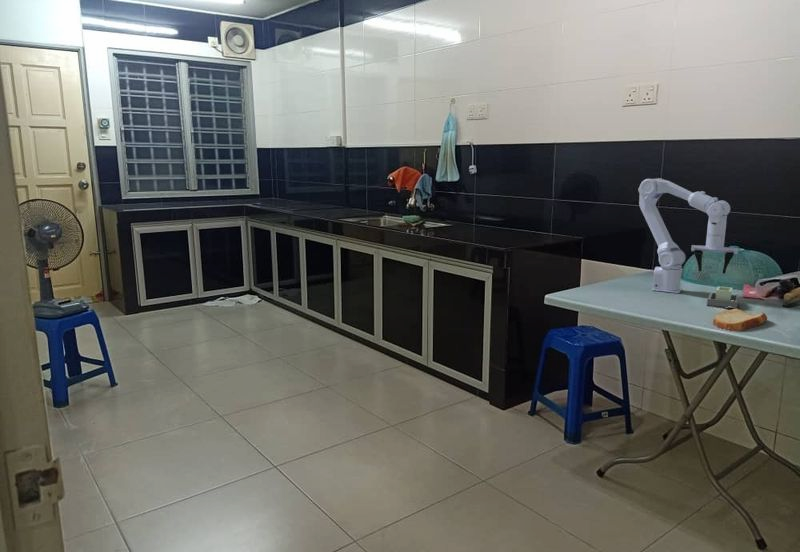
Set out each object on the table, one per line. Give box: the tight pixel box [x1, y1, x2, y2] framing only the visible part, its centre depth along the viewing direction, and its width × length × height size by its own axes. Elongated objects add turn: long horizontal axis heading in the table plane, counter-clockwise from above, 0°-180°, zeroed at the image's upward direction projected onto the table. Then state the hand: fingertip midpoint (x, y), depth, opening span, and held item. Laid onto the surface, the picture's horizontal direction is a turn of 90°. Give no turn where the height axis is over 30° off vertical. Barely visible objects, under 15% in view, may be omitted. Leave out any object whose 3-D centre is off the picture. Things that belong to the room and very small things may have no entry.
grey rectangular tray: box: [706, 292, 740, 309], centre depth 194 cm, size 9×11×2 cm
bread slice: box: [712, 308, 768, 332], centre depth 171 cm, size 18×18×4 cm
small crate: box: [715, 286, 733, 301], centre depth 194 cm, size 4×7×5 cm, turn 147°
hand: (711, 272), depth 203 cm, fingers open, 7 cm apart
